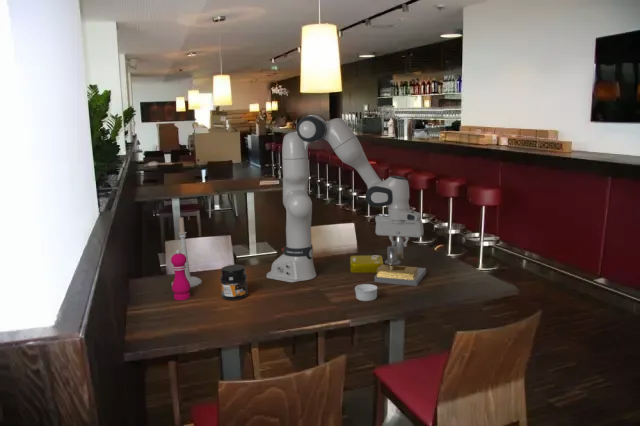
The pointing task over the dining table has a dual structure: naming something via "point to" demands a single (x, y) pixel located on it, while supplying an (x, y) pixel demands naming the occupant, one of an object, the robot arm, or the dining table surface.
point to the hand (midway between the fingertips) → (399, 246)
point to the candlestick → (192, 280)
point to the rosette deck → (398, 271)
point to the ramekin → (366, 292)
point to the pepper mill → (180, 277)
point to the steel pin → (399, 246)
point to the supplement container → (233, 282)
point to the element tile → (365, 263)
